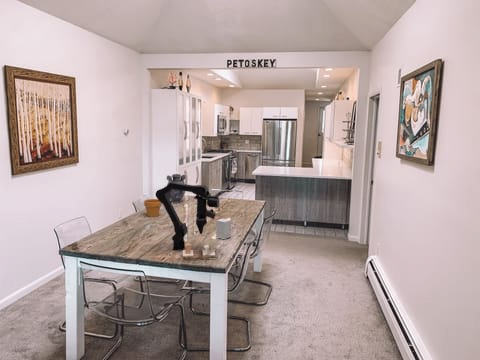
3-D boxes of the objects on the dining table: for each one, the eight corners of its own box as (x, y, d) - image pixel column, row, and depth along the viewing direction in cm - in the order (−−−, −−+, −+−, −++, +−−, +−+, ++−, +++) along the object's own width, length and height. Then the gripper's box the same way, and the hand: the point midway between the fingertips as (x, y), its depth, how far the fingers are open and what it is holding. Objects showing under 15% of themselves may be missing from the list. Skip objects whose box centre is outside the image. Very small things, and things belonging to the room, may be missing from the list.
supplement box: (231, 238, 242) (231, 220, 240) (223, 240, 236) (223, 222, 234) (223, 235, 246) (223, 218, 245) (215, 237, 241) (216, 219, 239)
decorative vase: (180, 199, 367) (180, 172, 363) (190, 202, 353) (190, 175, 349) (161, 201, 353) (162, 174, 349) (171, 205, 339) (171, 176, 335)
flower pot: (140, 216, 291) (140, 201, 289) (150, 213, 304) (150, 198, 302) (155, 218, 286) (155, 203, 285) (164, 215, 300) (164, 199, 298)
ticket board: (185, 260, 198) (185, 256, 198) (185, 252, 210) (185, 249, 209) (217, 259, 201) (217, 255, 200) (215, 252, 213) (215, 248, 212)
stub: (182, 256, 199) (182, 247, 198) (182, 251, 208) (182, 242, 207) (193, 256, 200) (193, 246, 199) (193, 251, 209) (193, 241, 208)
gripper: (215, 210, 202) (214, 236, 205) (214, 203, 221) (213, 227, 223) (196, 209, 201) (195, 236, 203) (196, 203, 220) (196, 227, 222)
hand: (201, 231), depth 213 cm, fingers open, 9 cm apart
